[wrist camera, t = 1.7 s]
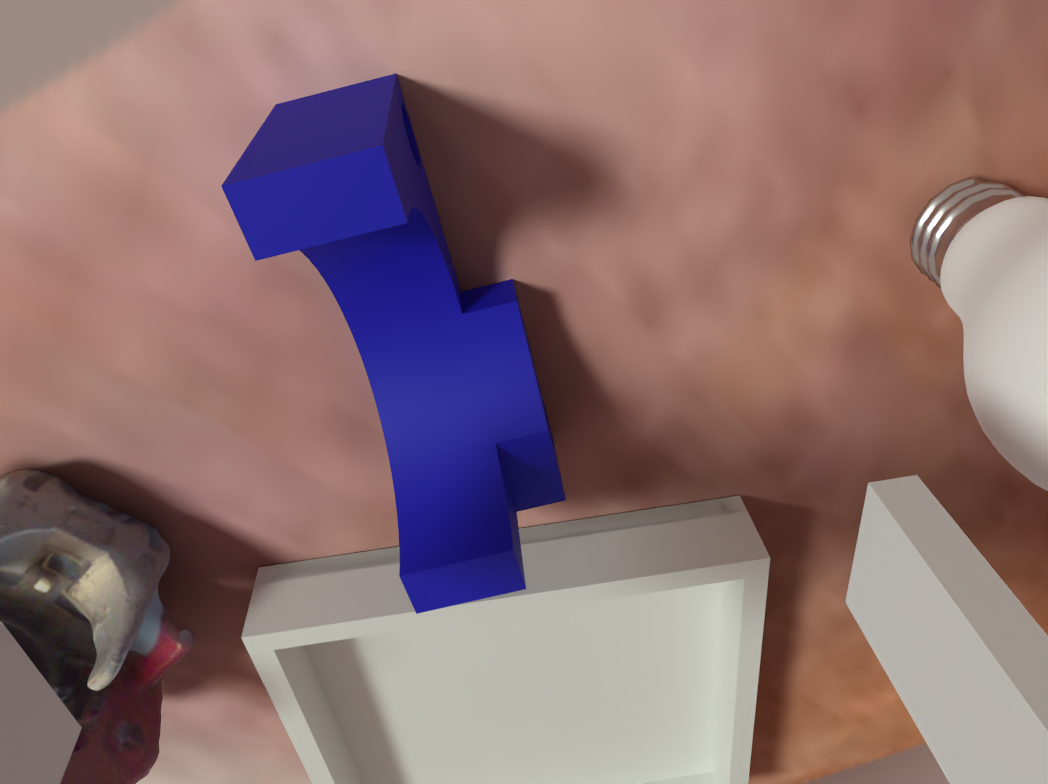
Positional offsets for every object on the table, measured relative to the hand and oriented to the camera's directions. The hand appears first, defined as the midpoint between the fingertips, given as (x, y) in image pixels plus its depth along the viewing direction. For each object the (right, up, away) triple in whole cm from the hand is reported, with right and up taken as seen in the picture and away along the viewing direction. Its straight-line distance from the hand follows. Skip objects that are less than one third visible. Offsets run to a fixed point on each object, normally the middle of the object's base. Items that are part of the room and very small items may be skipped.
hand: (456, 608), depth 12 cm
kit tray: (+1, -8, +20) cm, 22 cm away
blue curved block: (-1, +6, +10) cm, 12 cm away
